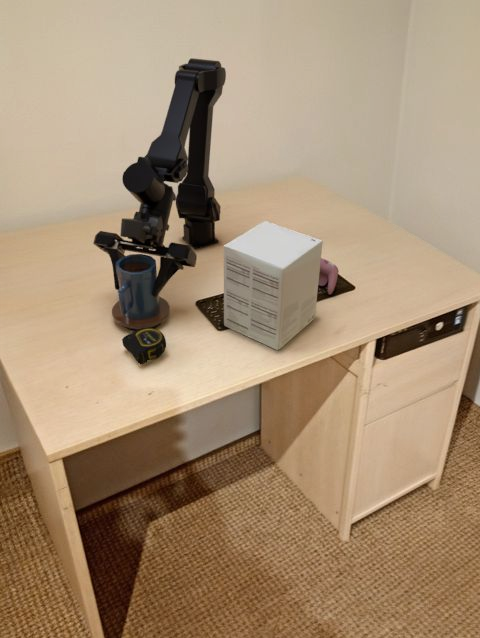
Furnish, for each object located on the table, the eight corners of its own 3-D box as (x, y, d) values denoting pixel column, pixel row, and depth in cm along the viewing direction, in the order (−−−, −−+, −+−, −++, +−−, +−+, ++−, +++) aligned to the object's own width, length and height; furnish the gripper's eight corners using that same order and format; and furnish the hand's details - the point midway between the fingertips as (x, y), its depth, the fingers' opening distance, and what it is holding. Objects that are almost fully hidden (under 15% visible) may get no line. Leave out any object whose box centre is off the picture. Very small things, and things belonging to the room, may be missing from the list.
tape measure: (122, 350, 111) (119, 333, 109) (156, 337, 114) (154, 321, 112) (138, 370, 107) (136, 353, 104) (173, 357, 110) (172, 340, 107)
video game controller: (335, 294, 131) (342, 261, 130) (332, 295, 127) (338, 262, 125) (291, 285, 133) (297, 253, 132) (286, 286, 129) (293, 253, 128)
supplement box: (261, 296, 127) (264, 219, 116) (316, 319, 121) (324, 239, 110) (222, 326, 118) (221, 245, 107) (278, 351, 112) (283, 269, 101)
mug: (130, 292, 124) (124, 244, 117) (179, 303, 121) (176, 255, 115) (98, 324, 115) (90, 274, 108) (150, 337, 112) (145, 287, 106)
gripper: (90, 190, 109) (70, 273, 108) (189, 204, 106) (169, 291, 105) (115, 212, 120) (96, 288, 119) (204, 226, 117) (187, 305, 115)
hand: (135, 293), depth 114 cm, fingers closed on mug, 7 cm apart
